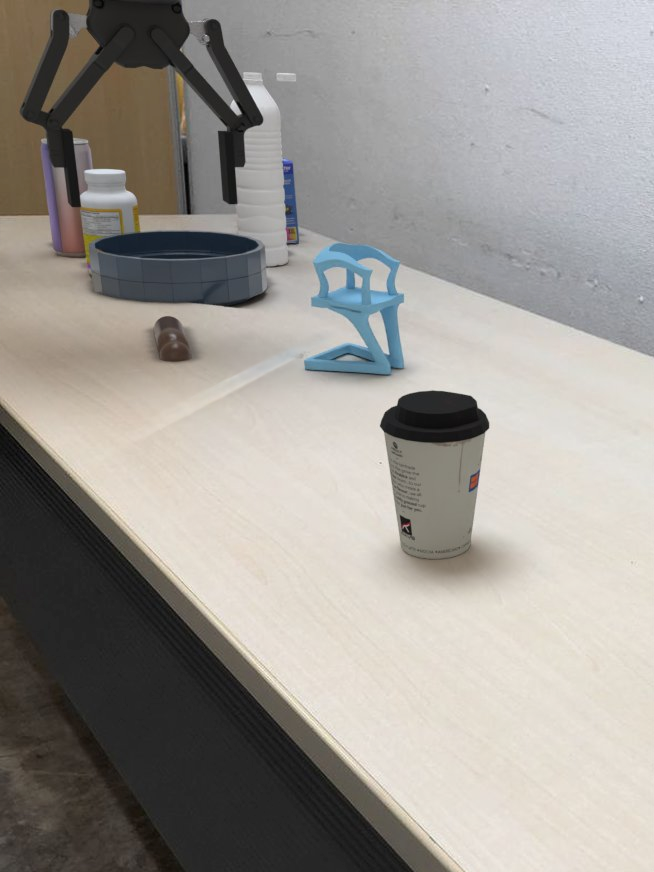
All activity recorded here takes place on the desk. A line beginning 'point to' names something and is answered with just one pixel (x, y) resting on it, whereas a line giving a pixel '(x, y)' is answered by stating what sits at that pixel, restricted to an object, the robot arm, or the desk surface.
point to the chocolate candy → (171, 339)
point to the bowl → (179, 266)
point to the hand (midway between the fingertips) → (155, 204)
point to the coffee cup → (435, 469)
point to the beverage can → (66, 201)
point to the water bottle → (263, 175)
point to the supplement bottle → (107, 206)
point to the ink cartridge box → (290, 202)
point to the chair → (359, 310)
